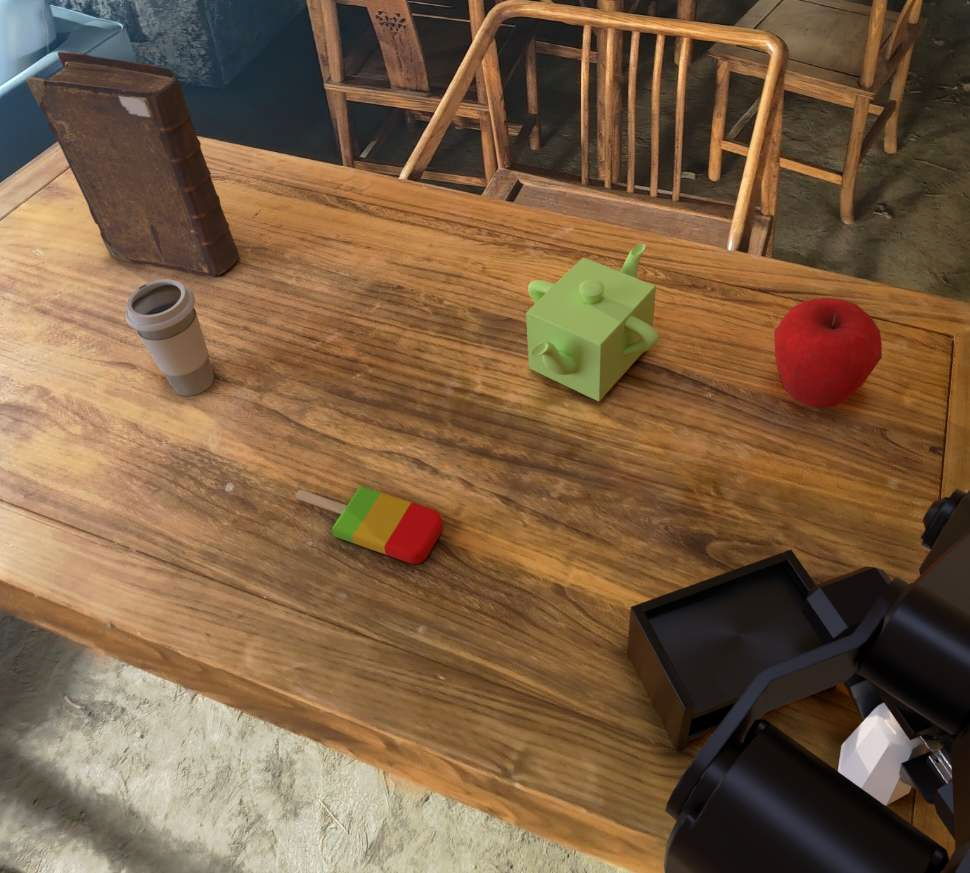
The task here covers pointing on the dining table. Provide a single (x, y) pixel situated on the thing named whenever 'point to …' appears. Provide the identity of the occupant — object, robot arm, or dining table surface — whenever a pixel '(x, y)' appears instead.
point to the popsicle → (383, 523)
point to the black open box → (718, 641)
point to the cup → (172, 334)
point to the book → (137, 162)
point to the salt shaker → (879, 756)
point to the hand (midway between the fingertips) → (888, 749)
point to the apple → (826, 351)
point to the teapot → (591, 324)
